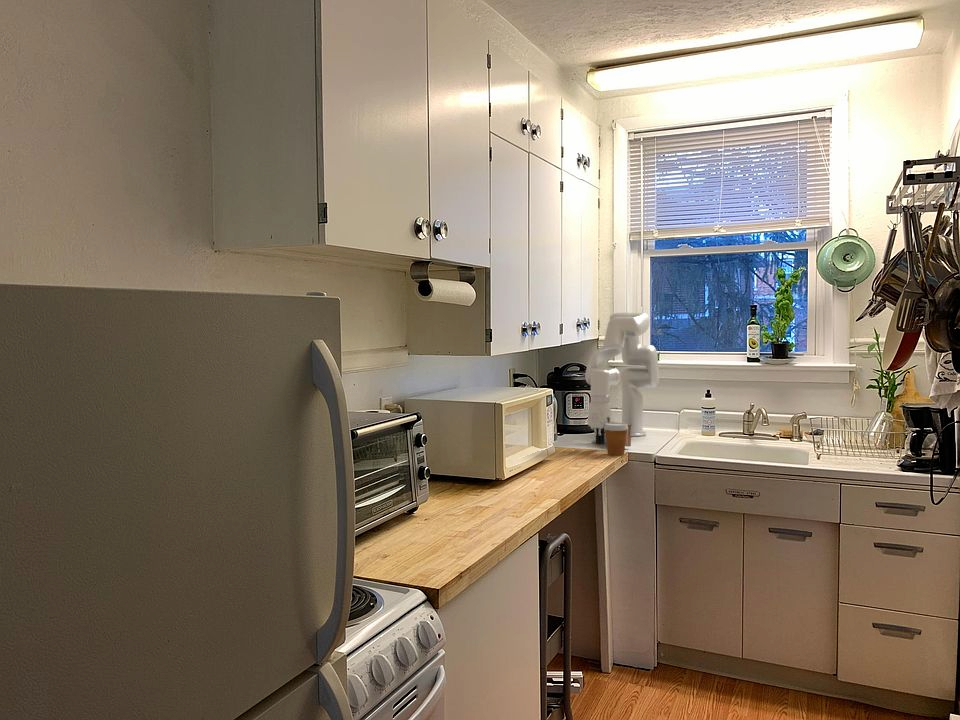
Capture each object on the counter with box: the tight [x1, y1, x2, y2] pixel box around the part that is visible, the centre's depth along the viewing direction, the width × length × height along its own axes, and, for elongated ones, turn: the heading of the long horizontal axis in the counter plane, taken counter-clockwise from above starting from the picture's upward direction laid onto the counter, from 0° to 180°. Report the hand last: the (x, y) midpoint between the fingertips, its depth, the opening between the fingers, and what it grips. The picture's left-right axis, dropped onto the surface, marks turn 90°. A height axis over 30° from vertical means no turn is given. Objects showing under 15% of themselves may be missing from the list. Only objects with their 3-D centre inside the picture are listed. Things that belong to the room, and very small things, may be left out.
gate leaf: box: [604, 420, 632, 448], centre depth 309 cm, size 16×2×9 cm, turn 30°
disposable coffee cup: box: [604, 422, 628, 456], centre depth 290 cm, size 10×10×12 cm
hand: (600, 444), depth 300 cm, fingers closed
